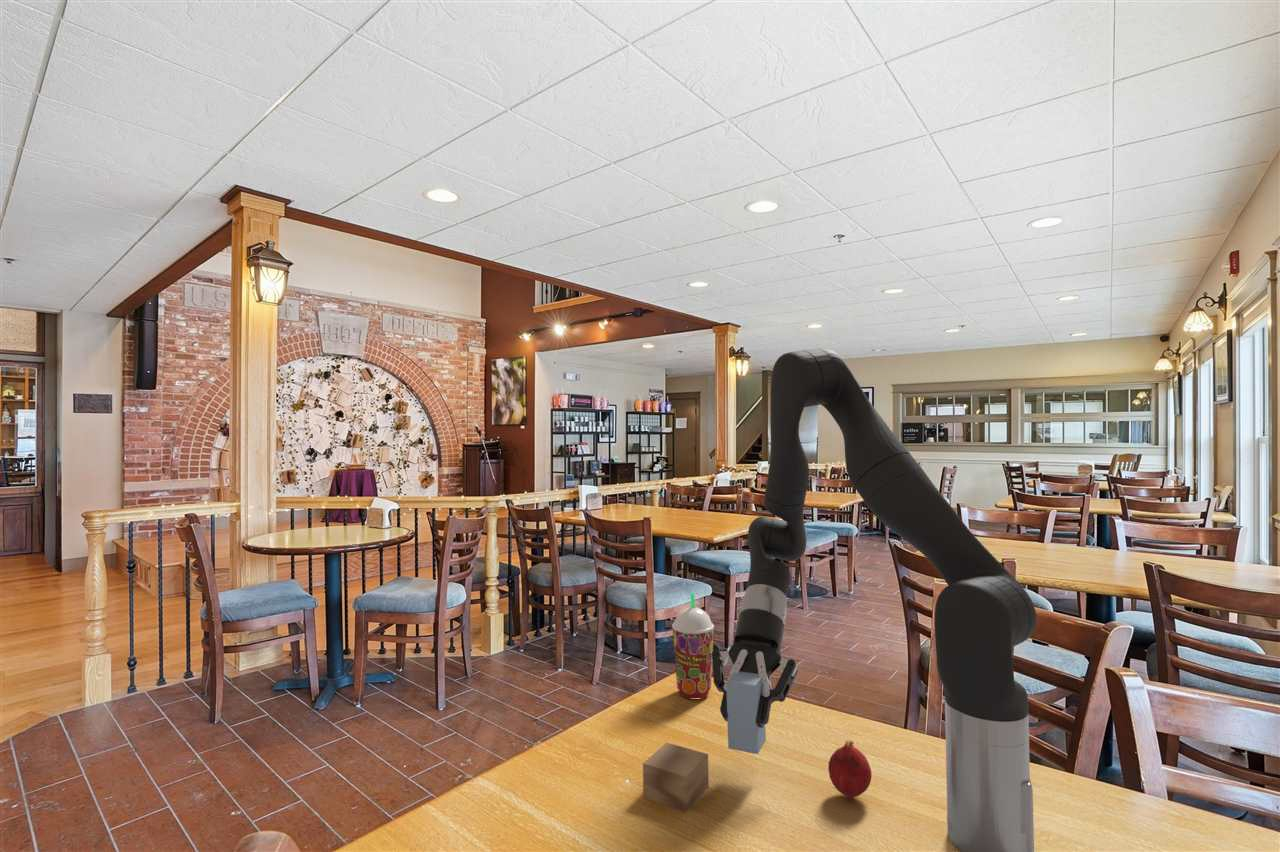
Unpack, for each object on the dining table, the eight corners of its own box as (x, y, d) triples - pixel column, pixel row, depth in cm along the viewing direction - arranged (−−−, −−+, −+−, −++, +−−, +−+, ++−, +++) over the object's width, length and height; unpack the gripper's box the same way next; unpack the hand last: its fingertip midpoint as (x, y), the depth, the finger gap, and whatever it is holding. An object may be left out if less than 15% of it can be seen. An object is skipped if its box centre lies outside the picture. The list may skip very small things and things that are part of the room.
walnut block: (708, 788, 91) (708, 754, 91) (686, 813, 85) (686, 776, 85) (667, 775, 95) (666, 742, 95) (643, 798, 89) (642, 763, 89)
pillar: (765, 740, 95) (763, 674, 95) (757, 754, 91) (755, 685, 91) (737, 735, 97) (735, 670, 97) (728, 748, 93) (726, 680, 93)
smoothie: (668, 700, 121) (667, 597, 122) (678, 683, 129) (677, 587, 130) (710, 705, 119) (709, 600, 119) (718, 688, 127) (716, 590, 127)
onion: (875, 812, 85) (873, 753, 85) (831, 807, 86) (830, 749, 86) (868, 788, 90) (867, 733, 90) (827, 784, 91) (826, 729, 92)
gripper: (715, 602, 104) (690, 703, 93) (801, 611, 98) (786, 720, 86) (726, 626, 109) (704, 724, 97) (809, 635, 102) (795, 741, 91)
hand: (742, 721), depth 92 cm, fingers closed on pillar, 4 cm apart
